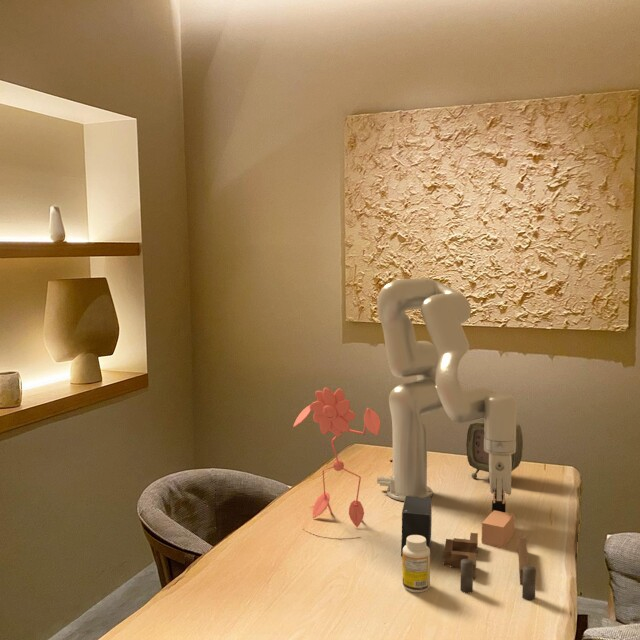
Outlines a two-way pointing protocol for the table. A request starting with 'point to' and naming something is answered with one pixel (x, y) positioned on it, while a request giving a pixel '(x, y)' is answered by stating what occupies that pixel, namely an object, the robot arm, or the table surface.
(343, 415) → the figurine
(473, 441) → the tabletop clock
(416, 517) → the small box
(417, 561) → the supplement bottle
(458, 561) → the brown notched pieces
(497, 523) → the block
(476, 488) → the table surface
